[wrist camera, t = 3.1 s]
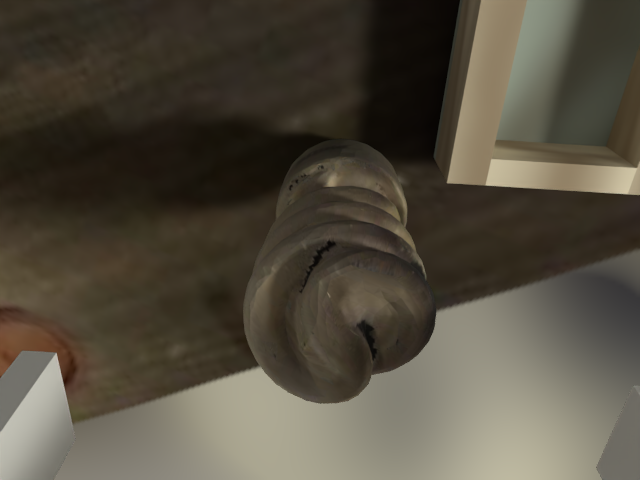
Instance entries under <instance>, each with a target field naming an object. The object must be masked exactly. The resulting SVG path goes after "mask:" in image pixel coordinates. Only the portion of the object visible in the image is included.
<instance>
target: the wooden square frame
mask: <svg viewBox="0 0 640 480" xmlns="http://www.w3.org/2000/svg"><path fill="white" fill-rule="evenodd" d="M434 159H435V161H436V163H437V165H438V167H439V169H440V170H441V172H442V174H443V176H444V178H445V180H446V182H447V183H456V184H472V185H488V186H504V187H521V188H537V189H553V190H569V191H585V192H602V193H618V194H634V195H640V0H460V4H459V10H458V16H457V22H456V28H455V33H454V39H453V45H452V51H451V57H450V63H449V69H448V75H447V80H446V86H445V92H444V98H443V104H442V110H441V116H440V122H439V128H438V133H437V139H436V145H435V151H434Z"/></svg>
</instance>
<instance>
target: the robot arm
mask: <svg viewBox="0 0 640 480" xmlns="http://www.w3.org/2000/svg"><path fill="white" fill-rule="evenodd" d="M75 439H76V438H75V433H74V429H73V425H72V420H71V416H70V411H69V407H68V402H67V398H66V393H65V389H64V385H63V380H62V376H61V371H60V367H59V362H58V358H57V353H52V352H35V351H22V352H21V353H20V354H19V355H18V357H17V358H16V359H15V360H14V362H13V363H12V364H11V366H10V367H9V368H8V369H7V371H6V372H5V373H4V374H3V376H2V377H1V378H0V480H54V479H55V477H56V475H57V473H58V471H59V469H60V467H61V466H62V464H63V462H64V460H65V458H66V456H67V454H68V452H69V451H70V449H71V447H72V445H73V443H74V441H75ZM596 468H597V470H598V472H599V474H600V476H601V478H602V480H640V386H633V387H632V389H631V391H630V393H629V395H628V398H627V400H626V402H625V404H624V407H623V409H622V411H621V413H620V415H619V418H618V420H617V422H616V424H615V427H614V429H613V431H612V434H611V436H610V438H609V440H608V443H607V444H606V447H605V449H604V451H603V454H602V456H601V458H600V460H599V462H598V465H597V467H596Z"/></svg>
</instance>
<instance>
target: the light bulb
mask: <svg viewBox="0 0 640 480" xmlns="http://www.w3.org/2000/svg"><path fill="white" fill-rule="evenodd" d="M406 222H407V204H406V200H405V196H404V193H403V189H402V186H401V184H400V182H399V180H398V178H397V175H396V173H395V171H394V168H393V166H392V165H391V164H390V162H389V161H388V160H387V159H386V158H385V157H384V156H383V155H382V154H381V153H380V152H378V151H377V150H375V149H373V148H372V147H370V146H369V145H367V144H364V143H361V142H358V141H354V140H348V139H332V140H328V141H324V142H321V143H319V144H317V145H315V146H313V147H311V148H309V149H307V150H306V151H305V152H304V153H303V154H302V155H301V156H299V157H298V158H297V159H296V160H295V161H294V163H293V164H292V165H291V167H290V169H289V171H288V173H287V175H286V176H285V179H284V182H283V184H282V186H281V190H280V193H279V197H278V202H277V206H276V221H275V222H274V223H273V225H272V227H271V229H270V231H269V233H268V235H267V237H266V239H265V243H264V245H263V246H262V248H261V250H260V251H259V253H258V256H257V259H256V261H255V265H254V269H253V274H252V276H251V278H250V280H249V283H248V286H247V289H246V294H245V300H244V306H243V314H244V328H245V334H246V337H247V340H248V343H249V346H250V348H251V350H252V352H253V354H254V356H255V359H256V360H257V362H258V363H259V365H260V366H261V367H262V369H263V370H264V372H265V373H266V374H267V375H268V376H269V377H270V378H271V379H272V380H273V381H274V382H275V383H276V384H277V385H278V386H280V387H281V388H283V389H284V390H286V391H287V392H289V393H291V394H293V395H295V396H298V397H300V398H302V399H304V400H307V401H311V402H316V403H339V402H345V401H349V400H350V399H352V398H354V397H356V396H358V395H359V394H360V392H362V390H363V389H364V388H365V387H366V386H367V385H368V384H369V381H370V378H371V375H374V374H379V373H383V372H388V371H391V370H394V369H396V368H398V367H400V366H402V365H404V364H405V363H407V362H409V361H410V360H412V359H413V358H414V357H415V356H417V355H418V354H419V353H420V352H421V350H422V349H423V348H424V347H425V345H426V344H427V343H428V341H429V339H430V337H431V335H432V333H433V330H434V326H435V317H436V305H435V300H434V295H433V292H432V290H431V288H430V286H429V284H428V282H427V281H426V273H425V270H424V266H423V263H422V261H421V259H420V257H419V256H418V254H417V253H416V249H415V245H414V243H413V240H412V238H411V235H410V234H409V233H408V231H407V230H406V229H405V226H406Z"/></svg>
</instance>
